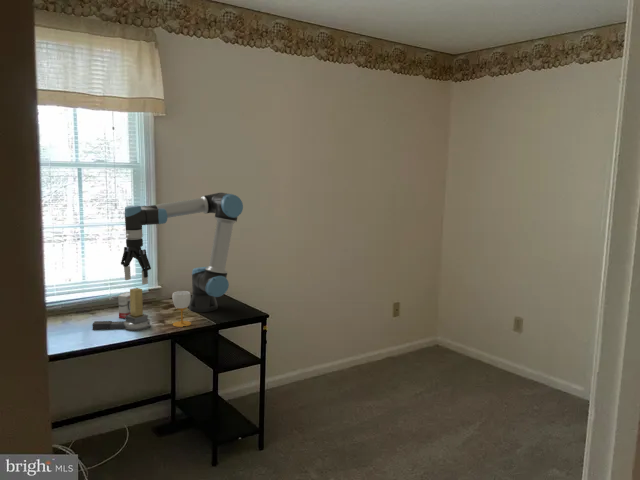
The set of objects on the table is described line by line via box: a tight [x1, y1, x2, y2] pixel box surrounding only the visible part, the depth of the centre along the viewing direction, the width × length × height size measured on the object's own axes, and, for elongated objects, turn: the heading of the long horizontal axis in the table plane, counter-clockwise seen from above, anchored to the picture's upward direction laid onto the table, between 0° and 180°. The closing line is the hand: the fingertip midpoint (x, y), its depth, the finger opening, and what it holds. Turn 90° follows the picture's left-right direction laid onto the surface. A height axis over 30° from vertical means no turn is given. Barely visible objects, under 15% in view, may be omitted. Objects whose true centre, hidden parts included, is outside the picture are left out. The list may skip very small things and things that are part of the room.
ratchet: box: [91, 313, 151, 332], centre depth 260 cm, size 26×12×6 cm, turn 99°
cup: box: [171, 290, 192, 328], centre depth 266 cm, size 9×9×16 cm
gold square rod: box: [129, 287, 144, 318], centre depth 260 cm, size 4×4×16 cm
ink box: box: [117, 291, 131, 319], centre depth 278 cm, size 9×5×12 cm, turn 168°
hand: (136, 281), depth 258 cm, fingers open, 13 cm apart
